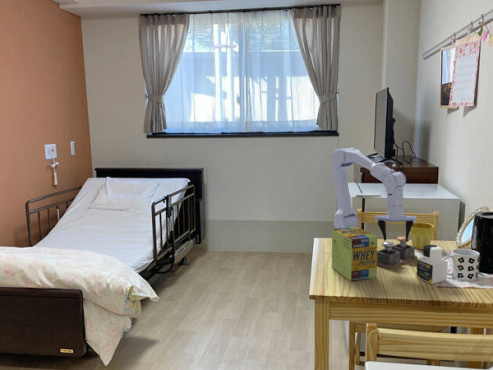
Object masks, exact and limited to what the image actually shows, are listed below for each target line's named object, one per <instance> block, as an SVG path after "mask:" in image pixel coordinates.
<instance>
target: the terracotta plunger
mask: <svg viewBox="0 0 493 370" xmlns="http://www.w3.org/2000/svg"><path fill="white" fill-rule="evenodd" d="M396 239H397V241H398V242H399V243H400V248H403V249H405V248H406V244H407V242H406V236H405V235H403V236H398V237H397V238H396ZM408 242H410V237H408Z"/></svg>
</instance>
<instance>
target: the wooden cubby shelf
mask: <svg viewBox="0 0 493 370" xmlns="http://www.w3.org/2000/svg"><path fill="white" fill-rule="evenodd" d="M384 249H385V247H384V248H381V249H379V250H378V249H377V267H378V266H379V267H381V268H385V269H388V270H391V269H395V268H397V267H399V266H402V265H404V264H408V263H410V262H412V261H415V260H417V259H418V255H415V250H416V248H415V247H414V246H412V244H407V243H406V248H405V249H403V248H400V242H399V243H397V244H394V246H393V247H391V254H386V253H384Z"/></svg>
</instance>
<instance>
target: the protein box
mask: <svg viewBox="0 0 493 370" xmlns="http://www.w3.org/2000/svg"><path fill="white" fill-rule="evenodd" d="M377 251H378V236H377V235H376V234H373V233H371V232H368V231H366V230H364V229H362V228H360V227H359V226H358V227H347V228H336V229H335V228H332V229H331V268H332V269H333V270H335V271H336V272H338V274H340V275H341V276H343V277H344V278H346V279H347V280H348V281H349V282H357V281H363V280H370V279H371V280H372V279H377V277H378V276H377V274H378V273H377V272H378V268H377V267H378V265H377Z"/></svg>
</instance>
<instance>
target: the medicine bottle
mask: <svg viewBox="0 0 493 370" xmlns="http://www.w3.org/2000/svg"><path fill="white" fill-rule="evenodd" d="M416 278H417V279H419V280H422V281H424V282H426V283H429V284H431V285H434V284H438V283H441V282H446V281H447V280H448V261H447V260H445V259H443V247H441V246H439V245H436V244H430V245H426V246H424V247H423V249H422V257H419V258H418V257H417V259H416Z"/></svg>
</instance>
